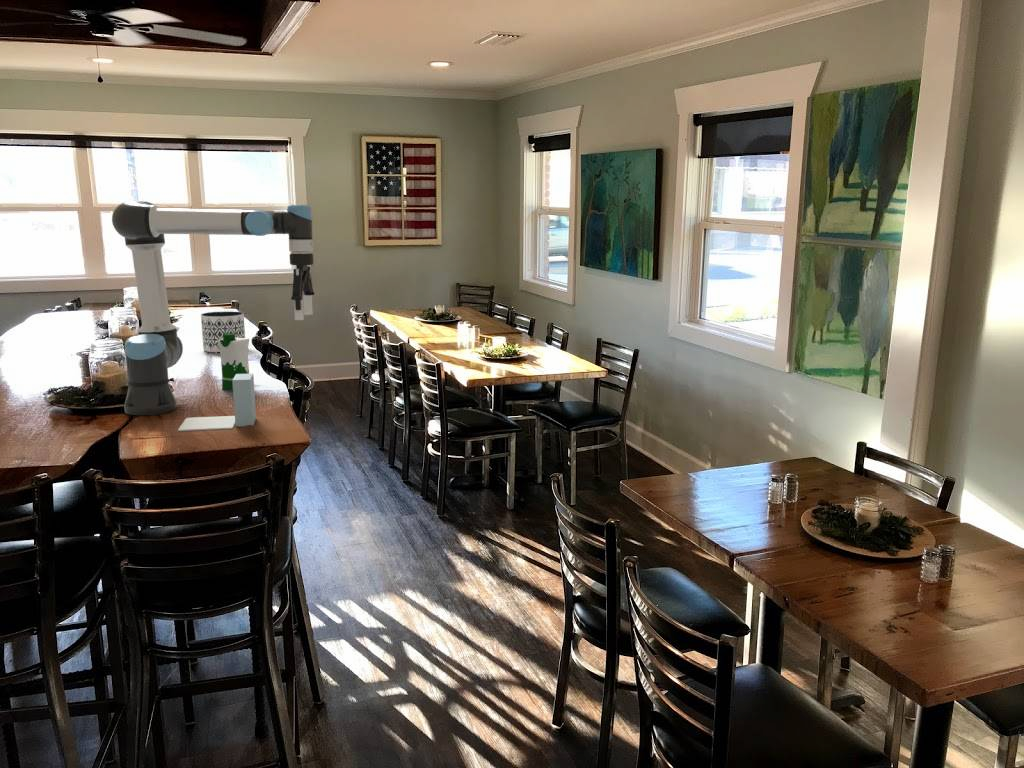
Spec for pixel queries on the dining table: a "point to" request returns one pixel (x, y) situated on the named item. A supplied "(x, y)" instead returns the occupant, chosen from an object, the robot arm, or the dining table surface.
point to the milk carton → (233, 358)
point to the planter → (220, 328)
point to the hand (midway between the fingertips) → (303, 317)
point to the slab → (244, 399)
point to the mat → (208, 423)
